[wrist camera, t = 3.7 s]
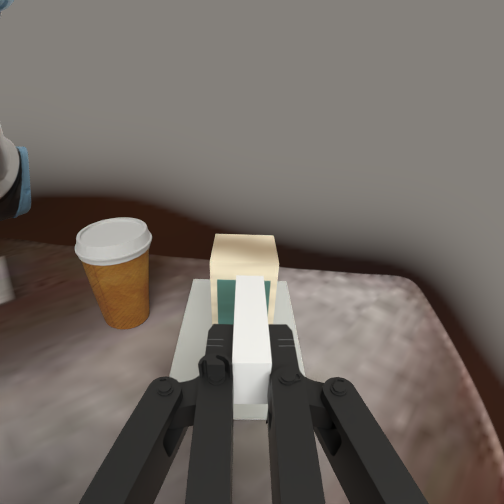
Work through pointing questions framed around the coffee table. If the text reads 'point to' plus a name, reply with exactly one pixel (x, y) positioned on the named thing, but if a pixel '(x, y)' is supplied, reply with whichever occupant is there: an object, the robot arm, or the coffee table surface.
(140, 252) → the disposable coffee cup
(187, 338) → the mat
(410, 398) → the coffee table surface
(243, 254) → the block
